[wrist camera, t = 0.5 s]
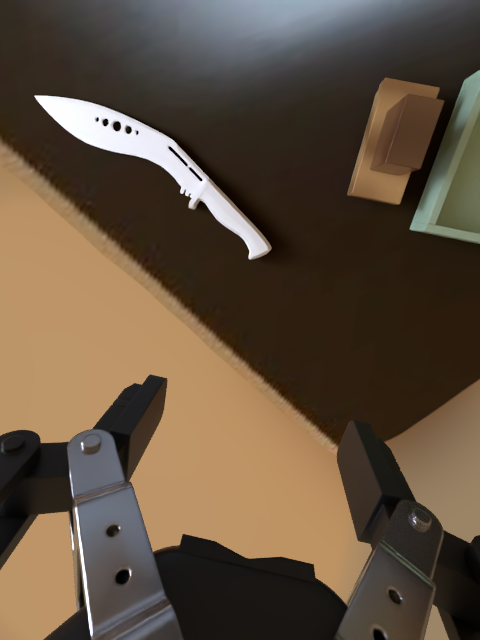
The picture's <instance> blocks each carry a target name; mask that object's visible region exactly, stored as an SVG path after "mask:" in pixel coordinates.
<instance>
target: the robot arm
mask: <svg viewBox="0 0 480 640" xmlns="http://www.w3.org/2000/svg"><path fill="white" fill-rule="evenodd" d="M166 388H167V378H163V377H159V376H154V375H149V376H148V377H147V379H146V380H145V382H144V383H143V384H142V385H140V384H136V383H134V384H133V385H131V386H129V387H127V388H125V389H124V390H123V391H122V393H121V394H120V395H119V396H118V399H116V400H115V401H114V403H113V405H111V406H110V408H109V409H108V410H107V411H106V412H105V414H104V415H103V416H102V418H101V419H100V420H99V421H98V422H97V424H96V425H95V426H94V427H93V429H91V430H86V431H83V432H81V433H79V434H77V435H75V436H74V437H73V438H72V439H71V440H70V441H69V442H62V443H40V437H39V435H38V434H36V433H35V432H33V431H28V430H17V431H12V432H9V433H6V434H3V435H1V436H0V570H1V568H2V567H3V565H4V564H5V562H6V561H7V559H8V558H9V556H10V555H11V554H12V552H13V551H14V549H15V548H16V546H17V545H18V543H19V542H20V540H21V539H22V538H23V536H24V535H25V533H26V531H27V530H28V529H29V527H30V526H31V524H32V523H33V521H34V520H35V519H36V517H37V516H38V514H46V513H55V512H67V511H68V514H69V524H70V534H71V545H72V555H73V566H74V582H75V595H76V607H77V612H76V613H75V614H74V615H73V616H71V617H70V618H69V619H68V620H67V621H65V622H64V623H63V624H62V625H61V626H59V627H58V628H57V629H56V630H54V631H53V632H52V633H51V634H50V635H48V636H47V637H46V638H45V639H44V640H424V637H425V633H426V628H427V624H428V620H429V616H430V612H431V608H432V604H433V605H435V606H437V608H438V610H439V613H440V616H441V619H442V621H443V624H444V627H445V629H446V632H447V634H448V638H449V640H480V535H479V536H476V537H474V539H473V540H472V542H471V543H468V542H466V541H464V540H462V539H460V538H458V537H456V536H454V535H452V534H450V533H448V532H446V531H444V530H443V527H442V525H441V523H440V522H439V520H438V519H437V518H436V516H435V515H434V514H433V513H432V512H431V511H430V510H428V509H427V508H426V507H425V506H423V505H421V504H420V503H418V502H416V500H415V498H414V496H413V494H412V492H411V490H410V488H409V486H408V484H407V482H406V480H405V478H404V476H403V474H402V472H401V471H400V468H399V466H398V464H397V462H396V459H395V457H394V456H393V454H392V451H391V450H390V448H389V447H388V446H387V445H386V444H385V443H384V442H383V441H382V440H381V439H379V438H376V436H375V434H374V431H373V429H372V427H371V425H370V424H367V423H363V422H358V421H354V420H351V421H349V423H348V425H347V427H346V430H345V432H344V435H343V437H342V440H341V442H340V445H339V447H338V452H337V462H338V467H339V470H340V474H341V478H342V481H343V486H344V490H345V493H346V497H347V501H348V504H349V509H350V512H351V516H352V520H353V524H354V528H355V532H356V535H357V539H358V541H360V542H365V543H369V544H371V547H372V552H371V553H370V555H369V557H368V559H367V561H366V563H365V565H364V567H363V569H362V571H361V574H360V575H359V577H358V580H357V582H356V584H355V586H354V588H353V590H352V592H351V594H350V596H349V598H348V600H347V602H346V603H344V602H343V600H342V599H341V598H340V597H339V596H338V595H337V594H336V593H335V592H334V591H333V590H332V589H330V588H329V587H328V586H326V585H325V584H324V583H323V582H321V581H320V580H318V579H316V578H315V572H314V565H313V564H310V563H305V562H301V561H297V560H292V559H288V558H284V557H271V558H256V559H248V558H245V557H243V556H241V555H239V554H237V553H235V552H233V551H232V550H230V549H228V548H226V547H224V546H222V545H220V544H219V543H217V542H215V541H211V540H207V539H203V538H198V537H194V536H190V535H185V534H183V536H182V539H181V544H180V545H179V546H171V547H166V548H163V549H160V550H157V551H154V552H153V551H152V548H151V544H150V541H149V538H148V535H147V531H146V528H145V525H144V521H143V518H142V515H141V511H140V508H139V505H138V502H137V498H136V495H135V492H134V488H133V486H132V484H131V482H129V480H130V478H131V476H132V474H133V472H134V470H135V469H136V467H137V465H138V463H139V461H140V459H141V457H142V455H143V453H144V451H145V449H146V447H147V446H148V444H149V442H150V440H151V437H152V435H153V434H154V432H155V430H156V428H157V426H158V424H159V422H160V420H161V417H162V414H163V410H164V404H165V396H166Z"/></svg>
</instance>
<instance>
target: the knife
mask: <svg viewBox="0 0 480 640" xmlns="http://www.w3.org/2000/svg"><path fill="white" fill-rule="evenodd" d="M35 98H36V99H37V100H38V102H39V103H40V104H41V105H42V107H43V108H44V109H45V110H46V111H47V112H48V113H49V114H50V115H51V116H52V117H53V118H54V119H55V120H56V121H57V122H58V123H59V124H60V125H61V126H63V127H64V128H65V129H66V130H67V131H69V132H70V133H71V134H73V135H74V136H75V137H77V138H78V139H80V140H82V141H84V142H86V143H88V144H90V145H93V146H96V147H98V148H102V149H105V150H109V151H113V152H117V153H122V154H128V155H133V156H138V157H141V158H145V159H148V160H150V161H152V162H154V163H156V164H158V165H160V166H161V167H163V168H164V169H165V170H167V171H168V172H169V173H170V174H171V175H172V176H173V177H174V178H175V179H176V181H177V182H178V184H179V185H180V186H181V190H180V193H182V194H183V193H184V191H185V190H186V193H185V195H186V196H189V193H191V195H190V197H191V198H192V199H191V200H190V202H189V208H190V209H196V207H197V204H198V203H199V202H200V201H203V202H204V203H205V204H206V205H207V207H208V208H209V210H210V211H211V213H212V214H213V215H214V217H215V218H216V219H217V220H218V221H219V222H220V223H221V224H223V225H224V226H225V227H227V228H228V229H230V230H231V231H233V232H234V233H236V234H237V235H239V236H240V237H241V238H242V239H243V240H244V241H245V243H246V244H247V246H248V248H249V256H248V259H250V260H251V259H256V258H259V257H261V256H263V255H265V254H267V253H268V252H269V251H270V250H271V249H272V247H271V245H270V244H269V242H268V241H267V239H266V238H265V237H264V236H263V234H262V233H261V232H260V231H259V230H258V229H257V228H256V227H255V226H254V224H253V223H252V222H251V221H250V220H249V219H248V218H247V217H246V216H245V215H244V214H243V213H242V212H241V211H240V210H239V209H238V207H237V206H236V205H235V204H234V203H233V202H232V201H231V200H230V199H229V198H228V197H227V196H226V195H225V194H224V193H223V192H222V191H221V190H220V188H219V187H218V186H217V185H216V184H215V183H214V182H213V181H212V180H211V179H210V178H209V177H208V176H207V175H206V174H205V173H204V172H203V171H202V170H201V169H200V168H199V167H198V166H197V165H196V164H195V162H194V161H193V160H192V159H191V158H190V157H189V156H188V155H187V154H186V153H185V152H184V151H183V150H182V149H181V148H180V147H179V146H178V144H177V143H176V142H175V141H174V140H172V139H171V138H169V137H167V136H166V135H164V134H163V133H161V132H159V131H157V130H155V129H153V128H151V127H149V126H147V125H145V124H143V123H141V122H139V121H137V120H135V119H132V118H130V117H128V116H126V115H123V114H121V113H119V112H116V111H114V110H111V109H109V108H106V107H104V106H100V105H97V104H94V103H90V102H86V101H81V100H76V99H70V98H63V97H55V96H35ZM97 117H99V121H98V122H96V118H97ZM105 119H108V123H109V124H108V125H107V126H106V127H105V126H104V125H103V120H105ZM116 121H119V122H120V123H121V129H120V131H117V132H116V131H115V130H114V128H113V124H114V122H116ZM127 126H130V127H131V129H132V132H131V133H130V134H127V133H126V128H127ZM137 131H138V132H139V134H138V135H136V132H137ZM169 147H172V148H173V149H174V150H175V151H176V152H177V153H178V154H179V155H180V156H181V158H182V159H183V160H184V161H185V162H186V163H187V164H188V166H185V165H184V164H183V163H182V162H181V161H180V159H179V158H178V157H177V156H176V155H175V154H174V153H173V152H171V151H170V150H169ZM190 167H191V168H192V169H193V170H194V171H195V172H196V173H197V174H198V175H199V176H200V177H201V178H202V181H200V180H199V179H198V178H197V177H196V176H195V175H194V174H193V173H192V172H191V171H190V170H189V168H190Z"/></svg>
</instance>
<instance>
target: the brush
mask: <svg viewBox="0 0 480 640" xmlns="http://www.w3.org/2000/svg"><path fill="white" fill-rule="evenodd" d="M439 90H440V88H438V87H433V86H428V85H422V84H417V83H412V82H406V81H401V80H396V79H390V78H385V79H384V80H383V81H382V82H381V84H380V86H379V89H378V92H377V93H376V95H375V99H374V102H373V106H372V109H371V112H370V116H369V119H368V123H367V126H366V130H365V133H364V137H363V140H362V144H361V147H360V151H359V154H358V158H357V161H356V165H355V168H354V172H353V175H352V179H351V182H350V186H349V189H348V193H347V195H348V196H352V197H357V198H362V199H367V200H372V201H377V202H382V203H387V204H392V205H398V204H400V202H401V199H402V197H403V194H404V191H405V188H406V185H407V182H408V179H409V176H410V173H411V172H412V171H416V170H419V169H421V166H422V163H423V160H424V158H425V155H426V152H427V149H428V146H429V144H430V141H431V138H432V135H433V132H434V129H435V127H436V124H437V121H438V118H439V115H440V113H441V110H442V107H443V104H444V100H439V99H436V98H437V95H438V93H439Z"/></svg>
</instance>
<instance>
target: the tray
mask: <svg viewBox="0 0 480 640" xmlns="http://www.w3.org/2000/svg"><path fill="white" fill-rule="evenodd" d="M410 230H413V231H418V232H423V233H428V234H433V235H438V236H443V237H448V238H453V239H458V240H463V241H468V242H473V243H478V244H480V70H479V71H477V72H476V73H475V74H473V75H472V76H470V77H469V78H467V79H466V80H464V82H463V85H462V87H461V90H460V93H459V96H458V98H457V101H456V104H455V107H454V109H453V112H452V115H451V117H450V120H449V123H448V126H447V128H446V131H445V134H444V137H443V139H442V142H441V145H440V147H439V150H438V153H437V156H436V158H435V161H434V164H433V167H432V169H431V172H430V175H429V178H428V180H427V183H426V186H425V188H424V191H423V194H422V197H421V199H420V202H419V205H418V208H417V210H416V213H415V216H414V218H413V221H412V224H411V227H410Z"/></svg>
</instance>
